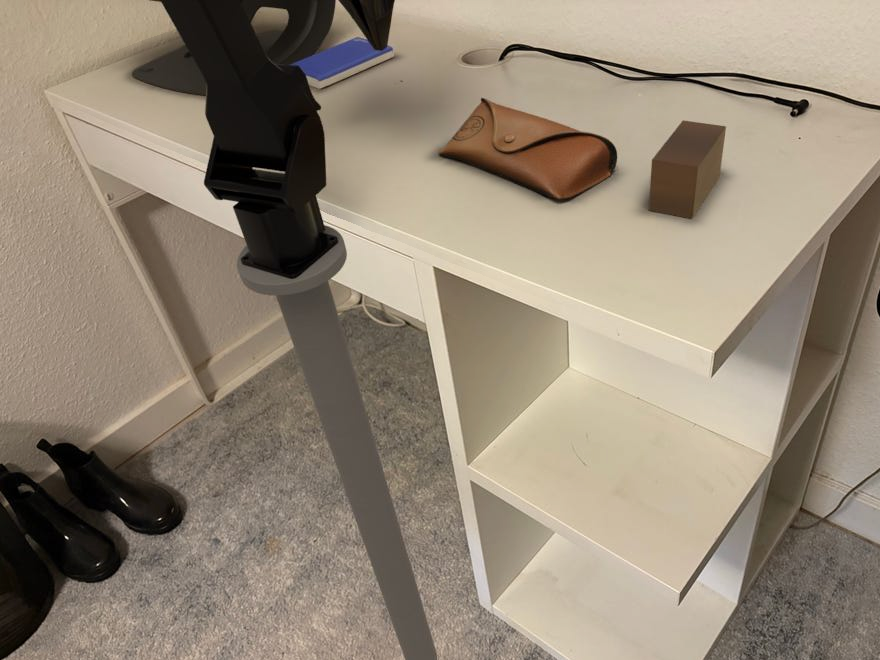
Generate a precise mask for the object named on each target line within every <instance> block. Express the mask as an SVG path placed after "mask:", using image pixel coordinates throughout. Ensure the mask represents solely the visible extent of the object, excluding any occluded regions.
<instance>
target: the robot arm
mask: <svg viewBox="0 0 880 660" xmlns="http://www.w3.org/2000/svg"><path fill="white" fill-rule="evenodd" d="M160 1H161V2H160V3H161V4H162V6H163V8H164V9H165V11H166V13H167V15H168V17H169V19H170V20H171V22H172V24H173V26H174V28H175V29H176V31H177V32H178V33H177V34H179V36H180V39H182V42H183V43H184V45H186V47H187V49H188V50H189V52H190V54H191V56H192V57H193V59H194V61H195V63H196V64H197V66H198V68H199V70H200V71H201V73H202V75H203V77H204V79H205V81H206V84H207V88H206V95H205V105H204V116H205V119H206V121H207V124H208V125H209V128H210V130H211V133H212V135H213V138H212V139H213V140H212V143H211V148H210V152H209V155H208V156H209V157H208V161H207V165H206V170H205V175H204V179H203V185H204V187H205V189H207V190H208V192H209V193H210V194H211V195H212V197H213V198H214V199H215V200H217V201H230V202H237V203H235V204H234V205H233V206H232V209H233V212H234V214H235V217H236V220H237V222H238V226H239V228H240V230H241V234H242V236H243V239H244V242H245V244H246V246H247V247H248V250H249V252H248V253H247V254H245V255H244V256H243V257H242V258H241V262H242V264H243V265H245V266H249V267H252V268H255V269H259V270H262V271H265V272H269V273H272V274H275V275H279V276H282V277H285V278H289V279H295V278H297V277H299V276H300V275H301V274H302V273H303V272H305V271H306V270H307V269H308V268H309V267H310V266H312V265H313V264H314V263H315V262H316V261H317V260H319V259H320V258H321V257H322V256H323V255H325V254H326V253H327V252H328V251H329V250H330V249H332V248H333V247H334V246H335V245H336V244H337V243H338V238H337V236H334V235H330V234H326V233H324V231H325V226H326V225H325V223H324V219H323V216H322V213H321V208H320V205H319V202H318V198H317V195H318V194H319V193H321V191H323V189H325V188H326V187H327V165H326V163H327V162H326V159H327V158H326V136H325V130H324V125H323V121H322V119H321V116H320V114H319V111H321V110H322V105H321V104H320V103H319V102H318V101H317V100H316V98H315V97H314V95H313V93H312V89H311V86H310V85H309V84H308V80H307V77H306V75H305V73H304V72H303V71H302V69H301V68H300V67H299V66H296V65H283V64H274V63H273V62H272V61H271V60H270V59H269V58H268V57H267V55H266V54H265V52H264V50H263V48H262V46H261V44H260V42H259V40H258V38H257V36H258V35H257V33H256V31H255V29H254V26H253V25H252V24H251V23H252V22H251V23H250V21H249V19H248V16H247V14H246V12H245V10H244V8H243V6H242V4H241V2H240V0H160ZM337 1H338V2H339V3H340V4H341V6H342V7H343V8H344V9H345V10H346V12H347V13H348V14H349V16H350V18H351V19H352V20H353V22H354V23H355V24H356V26H357V27H358V29H359V31H361V33H362V34H363V37H365V39H367V40H368V41H369V43H370V44H371V46H372V47H373V48H374V50H376V51H383V50H384V49H386V48H387V45H388V43H389V38H390V32H391V31H390V30H391V24H392V18H393V11H394V6H395V2H396V0H337ZM324 225H325V226H324Z"/></svg>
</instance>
